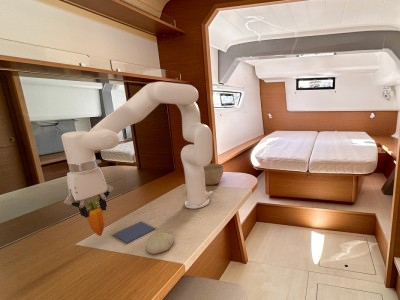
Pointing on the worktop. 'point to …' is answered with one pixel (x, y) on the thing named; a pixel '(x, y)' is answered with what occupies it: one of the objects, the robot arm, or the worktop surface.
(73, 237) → the worktop surface
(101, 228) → the carrot
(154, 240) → the sea urchin shell
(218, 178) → the planter bowl
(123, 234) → the napkin
